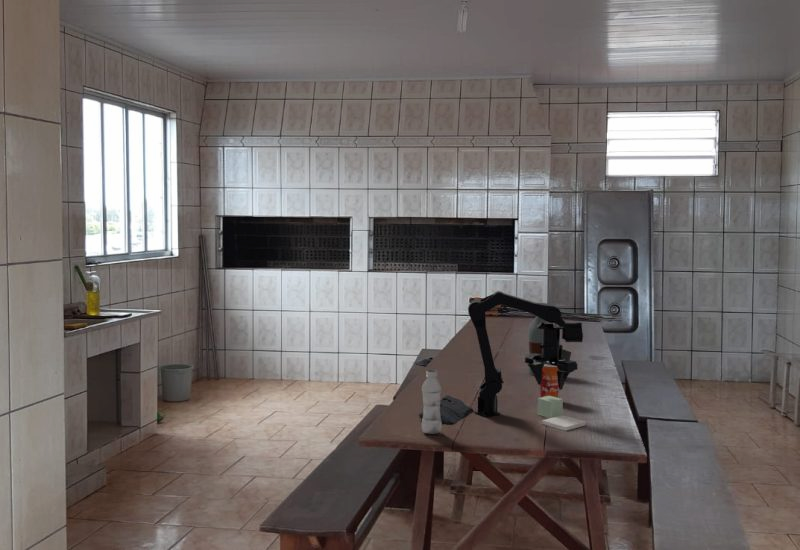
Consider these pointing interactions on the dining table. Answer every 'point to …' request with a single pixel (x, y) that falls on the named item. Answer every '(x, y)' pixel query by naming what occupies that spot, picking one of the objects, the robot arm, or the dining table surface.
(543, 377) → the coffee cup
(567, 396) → the dining table surface
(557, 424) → the tile
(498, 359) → the dining table surface
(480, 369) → the dining table surface
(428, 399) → the plastic bottle
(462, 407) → the dark slate chunk
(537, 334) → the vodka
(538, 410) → the cube
